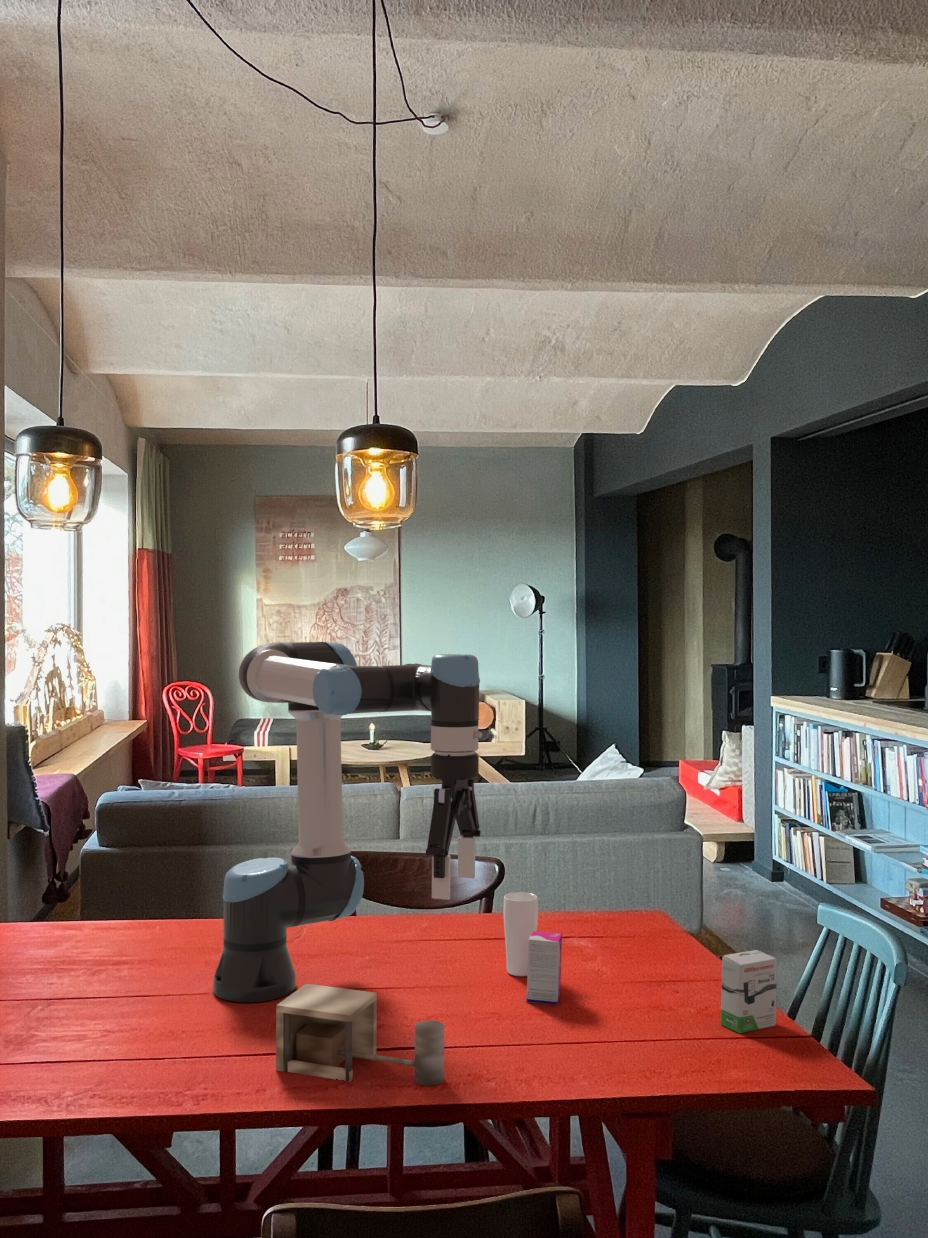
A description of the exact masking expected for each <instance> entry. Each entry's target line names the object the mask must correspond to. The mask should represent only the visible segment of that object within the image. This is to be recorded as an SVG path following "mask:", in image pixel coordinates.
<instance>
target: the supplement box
mask: <svg viewBox="0 0 928 1238" xmlns="http://www.w3.org/2000/svg"><path fill="white" fill-rule="evenodd" d="M562 943H563V934H562V933H558V932H547V931H546V932H545V931H533V932H532V933H531V936H530V938H529V943H528V975H527V976H526V977H527V978H526V979H527V980H526V981H527V982H526V1003H532V1004H544V1005H552V1006H553V1005H555V1006H556V1005H558V1003H559V1002H558V1001H559V998H560V996H561V985H562V984H561V983H562V981H561V980H562V979H561V978H562V952H563V951H562V950H563V949H562V948H563V947H562V946H563V944H562Z"/></svg>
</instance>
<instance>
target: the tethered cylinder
mask: <svg viewBox="0 0 928 1238" xmlns="http://www.w3.org/2000/svg"><path fill="white" fill-rule="evenodd" d="M345 1034H346V1027H343V1026H336V1025H329V1024H322V1023H315V1022H311V1023H309V1024H308V1025H307V1026H306V1027H304V1028H303V1029H302V1030H301V1031H299V1032H298V1033H297V1055H296V1061H301V1062H307V1063H314V1064H320V1065H326V1066H333V1067H338V1066H340V1065H341V1064H342V1063H343V1062H344V1061H345ZM352 1058H357V1059H363V1060H369V1061H374V1062H375V1061H376V1062H384V1063H388V1064H389V1063H390V1064H396V1065H403V1066H409V1067H414V1081H415V1083H417V1084H418V1085H422V1086H427V1087H428V1086H429V1087H430V1086H436V1085H440V1084H442V1083H443V1082H444V1080H445V1079H444V1078H445V1024H444V1023H443V1022H441V1021H439V1020H432V1019H431V1020H422V1021H419V1022H417V1023H415V1025H414V1060H413V1059H412V1060H411V1059H405V1058H399V1057H393V1056H386V1055H380V1054H379V1055H378V1054H376V1055H373V1054H367V1053H360V1052H353V1051H352Z"/></svg>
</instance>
